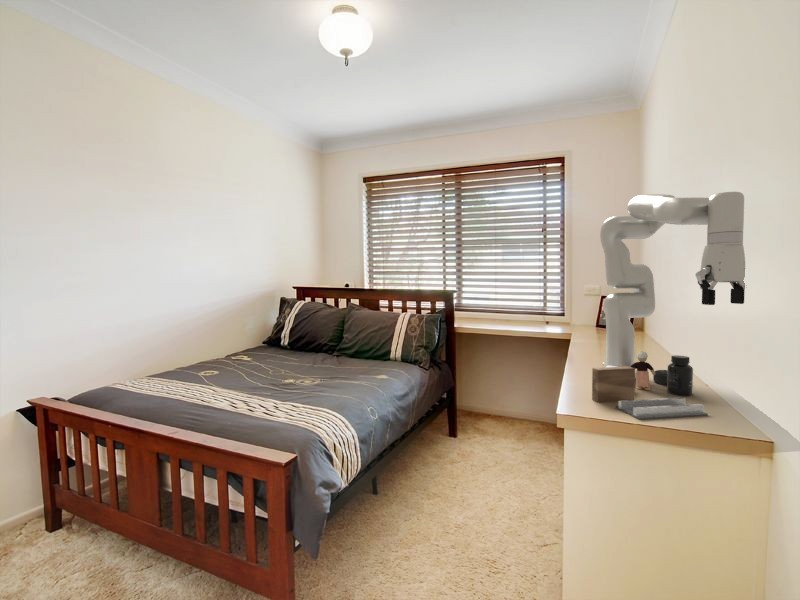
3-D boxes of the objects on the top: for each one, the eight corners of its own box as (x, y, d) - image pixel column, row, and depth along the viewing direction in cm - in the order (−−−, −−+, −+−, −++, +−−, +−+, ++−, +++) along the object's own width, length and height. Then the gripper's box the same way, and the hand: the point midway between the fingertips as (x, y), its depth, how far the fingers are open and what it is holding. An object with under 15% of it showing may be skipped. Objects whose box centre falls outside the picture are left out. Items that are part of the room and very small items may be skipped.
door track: (615, 407, 119) (615, 399, 119) (678, 404, 121) (678, 395, 121) (639, 419, 109) (639, 410, 109) (707, 415, 111) (707, 406, 111)
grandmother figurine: (652, 387, 139) (653, 350, 138) (656, 390, 135) (656, 352, 134) (627, 386, 141) (627, 349, 140) (629, 389, 137) (630, 351, 137)
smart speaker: (682, 388, 138) (683, 376, 138) (652, 384, 144) (652, 373, 143) (683, 382, 146) (684, 371, 145) (654, 379, 151) (654, 368, 151)
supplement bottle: (696, 396, 128) (697, 358, 127) (672, 395, 129) (673, 358, 129) (686, 390, 135) (687, 354, 134) (663, 390, 136) (663, 354, 135)
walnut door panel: (592, 399, 127) (592, 367, 126) (627, 397, 128) (628, 366, 128) (597, 402, 124) (598, 370, 123) (634, 400, 125) (635, 368, 125)
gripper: (735, 241, 114) (734, 302, 115) (685, 241, 111) (683, 304, 112) (765, 238, 107) (763, 304, 108) (712, 238, 103) (710, 306, 104)
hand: (722, 304), depth 110 cm, fingers open, 9 cm apart
